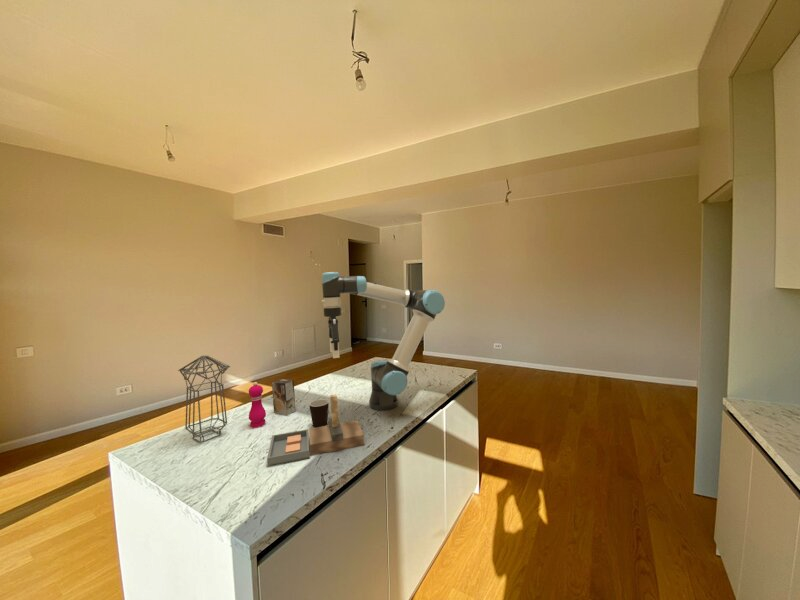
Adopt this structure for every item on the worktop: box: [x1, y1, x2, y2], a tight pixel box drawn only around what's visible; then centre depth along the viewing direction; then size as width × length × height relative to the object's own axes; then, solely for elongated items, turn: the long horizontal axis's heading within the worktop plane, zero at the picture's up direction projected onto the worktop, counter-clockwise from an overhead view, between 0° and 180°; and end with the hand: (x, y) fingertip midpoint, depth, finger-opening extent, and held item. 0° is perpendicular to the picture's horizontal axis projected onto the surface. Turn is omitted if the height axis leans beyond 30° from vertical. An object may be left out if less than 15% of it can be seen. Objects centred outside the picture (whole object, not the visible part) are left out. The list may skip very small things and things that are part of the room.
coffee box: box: [271, 378, 297, 416], centre depth 154 cm, size 9×6×16 cm
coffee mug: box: [308, 398, 330, 428], centre depth 139 cm, size 12×9×10 cm
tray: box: [266, 428, 311, 467], centre depth 117 cm, size 14×18×3 cm
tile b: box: [286, 443, 300, 454], centre depth 113 cm, size 5×5×2 cm
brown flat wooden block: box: [308, 420, 365, 456], centre depth 122 cm, size 20×14×4 cm
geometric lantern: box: [177, 355, 231, 444], centre depth 131 cm, size 16×16×35 cm
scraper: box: [328, 393, 343, 442], centre depth 121 cm, size 4×16×14 cm, turn 17°
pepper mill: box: [248, 381, 267, 429], centre depth 140 cm, size 7×7×20 cm
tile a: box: [287, 435, 301, 445], centre depth 120 cm, size 5×5×2 cm
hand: (334, 354), depth 136 cm, fingers open, 13 cm apart
